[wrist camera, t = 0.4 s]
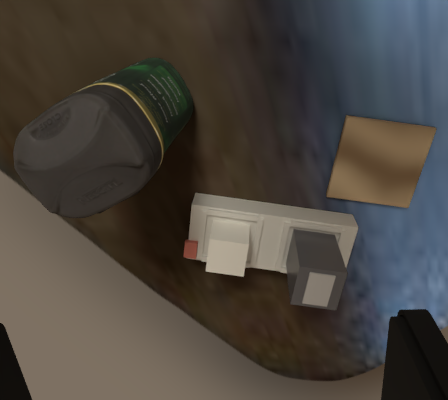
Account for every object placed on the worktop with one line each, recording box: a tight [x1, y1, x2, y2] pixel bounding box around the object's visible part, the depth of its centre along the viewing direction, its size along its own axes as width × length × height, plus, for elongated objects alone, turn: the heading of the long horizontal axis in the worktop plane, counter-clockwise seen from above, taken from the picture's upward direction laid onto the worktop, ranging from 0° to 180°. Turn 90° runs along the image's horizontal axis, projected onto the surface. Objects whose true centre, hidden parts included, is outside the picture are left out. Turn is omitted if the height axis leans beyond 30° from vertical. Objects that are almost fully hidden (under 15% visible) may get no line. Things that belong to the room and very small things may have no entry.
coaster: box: [326, 115, 436, 208], centre depth 43 cm, size 9×9×1 cm
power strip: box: [184, 193, 358, 277], centre depth 45 cm, size 18×7×7 cm, turn 83°
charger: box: [286, 229, 348, 310], centre depth 42 cm, size 4×4×7 cm
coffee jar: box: [13, 58, 193, 218], centre depth 34 cm, size 10×8×19 cm
